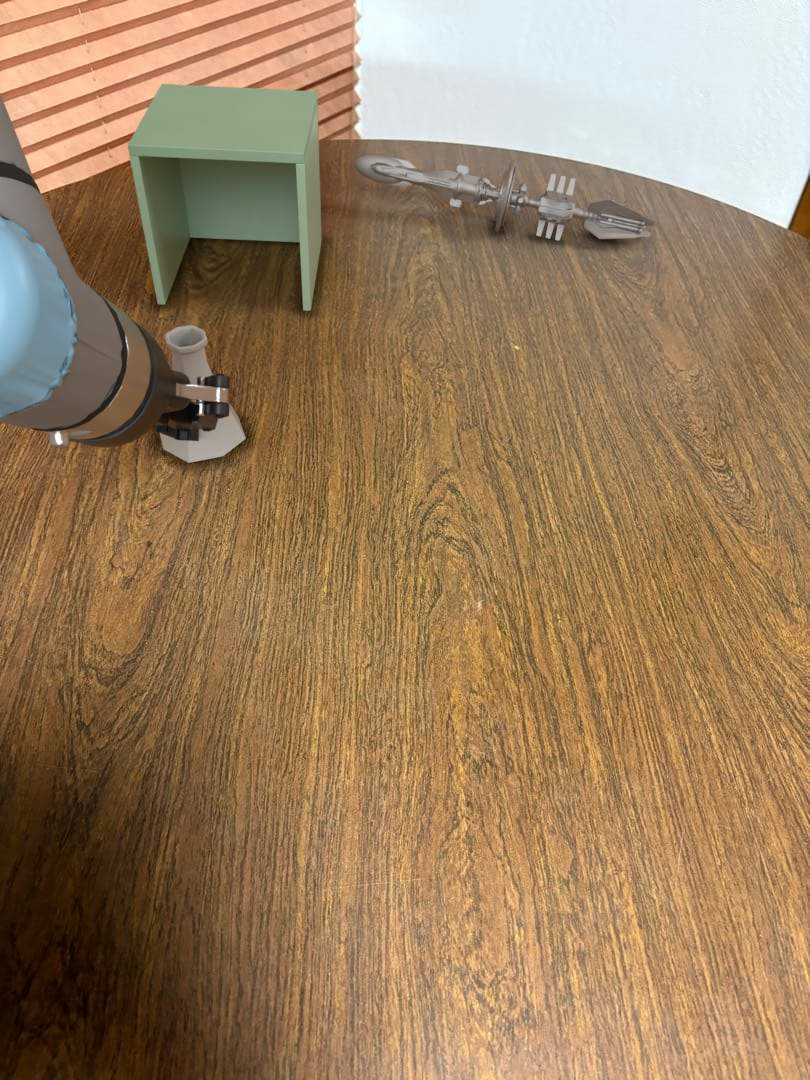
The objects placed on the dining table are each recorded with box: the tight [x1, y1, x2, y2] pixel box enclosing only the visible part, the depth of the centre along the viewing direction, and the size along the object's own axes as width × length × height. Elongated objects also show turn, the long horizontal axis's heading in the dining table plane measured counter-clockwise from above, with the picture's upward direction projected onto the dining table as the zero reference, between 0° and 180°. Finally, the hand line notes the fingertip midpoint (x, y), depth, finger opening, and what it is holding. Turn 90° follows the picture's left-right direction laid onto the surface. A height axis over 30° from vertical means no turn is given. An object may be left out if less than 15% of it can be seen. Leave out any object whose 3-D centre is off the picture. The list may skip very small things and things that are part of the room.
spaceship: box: [354, 153, 655, 242], centre depth 99 cm, size 8×35×8 cm
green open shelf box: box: [127, 83, 323, 312], centre depth 87 cm, size 15×16×16 cm
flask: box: [159, 324, 247, 464], centre depth 70 cm, size 7×7×10 cm
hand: (189, 423), depth 69 cm, fingers closed
